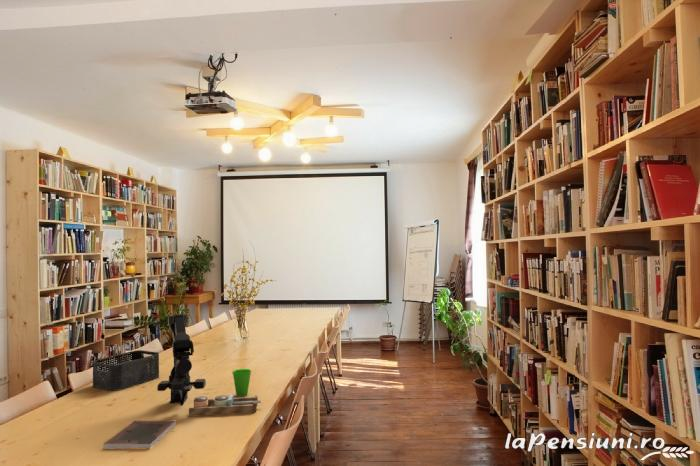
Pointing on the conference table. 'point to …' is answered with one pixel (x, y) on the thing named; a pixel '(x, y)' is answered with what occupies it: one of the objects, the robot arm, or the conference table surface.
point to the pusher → (230, 402)
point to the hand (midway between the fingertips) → (181, 405)
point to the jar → (201, 401)
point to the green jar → (221, 400)
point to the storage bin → (125, 370)
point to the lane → (226, 407)
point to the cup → (241, 381)
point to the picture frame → (139, 434)
